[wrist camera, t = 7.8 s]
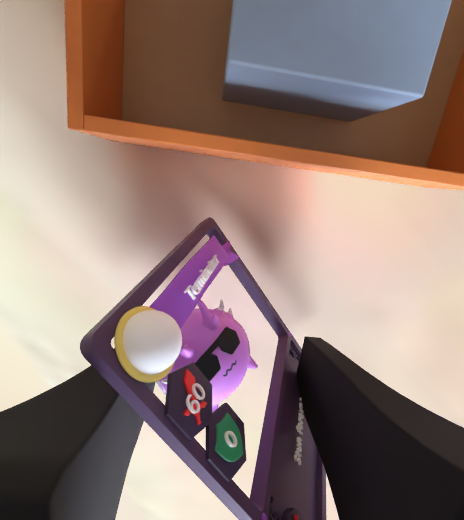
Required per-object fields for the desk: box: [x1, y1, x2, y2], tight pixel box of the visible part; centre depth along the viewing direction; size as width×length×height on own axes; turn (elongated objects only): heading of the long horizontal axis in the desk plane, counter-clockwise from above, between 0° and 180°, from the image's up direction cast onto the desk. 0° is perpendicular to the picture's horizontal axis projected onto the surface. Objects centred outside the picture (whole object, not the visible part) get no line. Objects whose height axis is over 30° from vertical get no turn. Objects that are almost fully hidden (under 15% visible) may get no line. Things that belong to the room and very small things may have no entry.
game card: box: [80, 217, 326, 520], centre depth 10 cm, size 7×5×9 cm
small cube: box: [222, 0, 452, 122], centre depth 8 cm, size 5×4×4 cm
